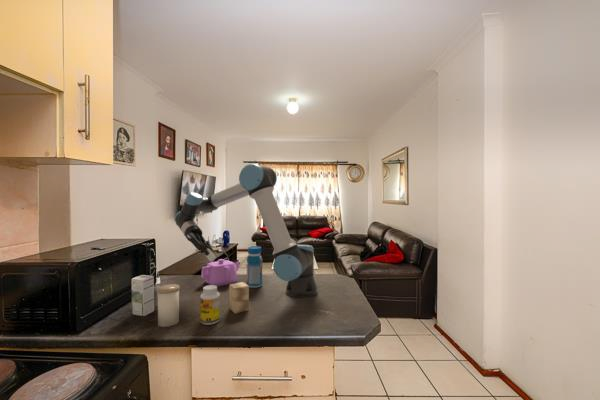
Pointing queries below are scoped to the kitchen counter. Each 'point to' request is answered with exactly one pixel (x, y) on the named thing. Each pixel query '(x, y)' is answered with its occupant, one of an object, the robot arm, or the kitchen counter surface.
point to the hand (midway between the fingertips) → (212, 259)
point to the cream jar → (168, 305)
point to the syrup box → (142, 295)
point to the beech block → (239, 297)
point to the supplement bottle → (210, 305)
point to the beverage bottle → (254, 267)
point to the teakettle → (220, 272)
